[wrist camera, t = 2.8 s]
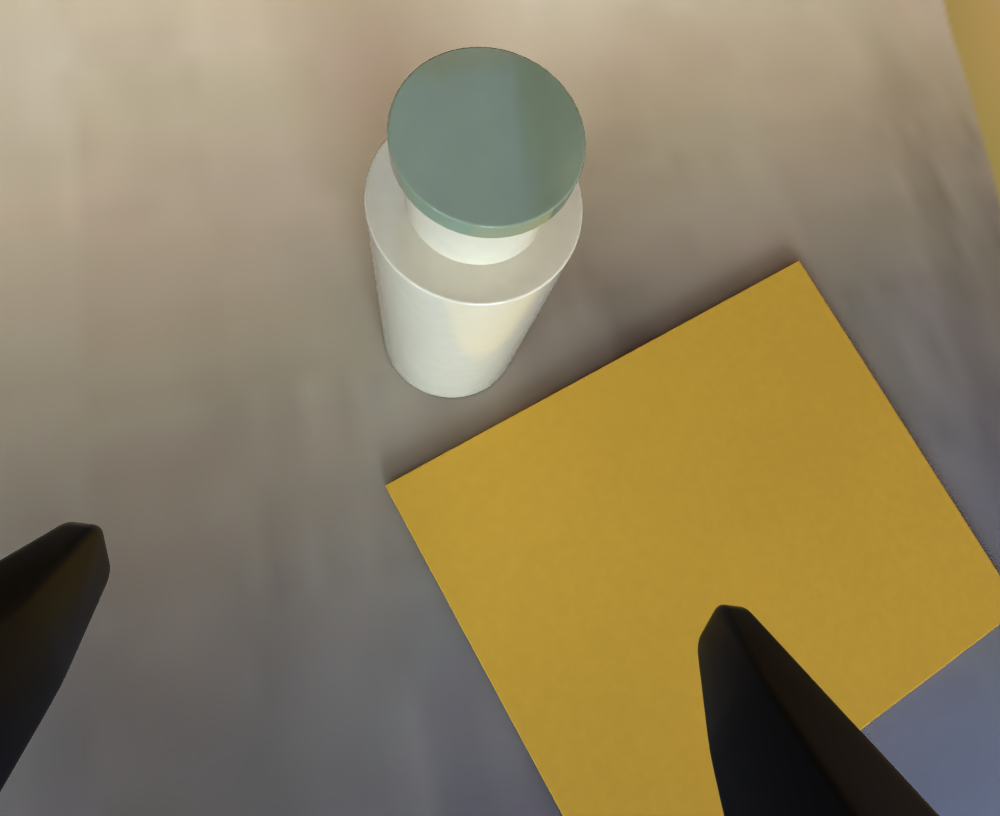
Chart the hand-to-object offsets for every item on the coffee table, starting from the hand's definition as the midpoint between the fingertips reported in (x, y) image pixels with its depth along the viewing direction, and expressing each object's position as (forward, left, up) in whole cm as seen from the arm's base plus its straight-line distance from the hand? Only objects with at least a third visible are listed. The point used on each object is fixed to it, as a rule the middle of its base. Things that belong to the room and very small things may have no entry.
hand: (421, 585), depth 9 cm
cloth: (+10, -5, -14) cm, 17 cm away
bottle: (+5, +7, -14) cm, 16 cm away
